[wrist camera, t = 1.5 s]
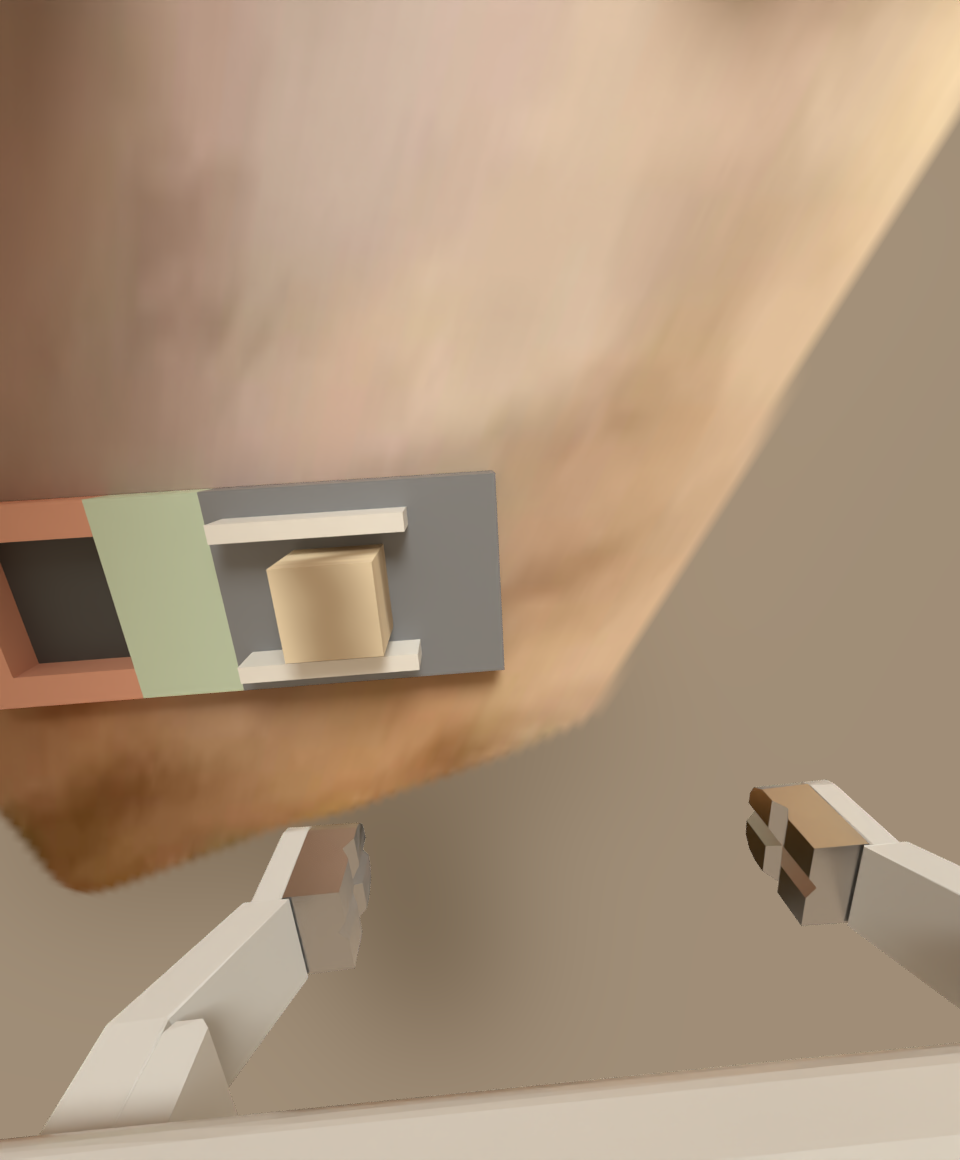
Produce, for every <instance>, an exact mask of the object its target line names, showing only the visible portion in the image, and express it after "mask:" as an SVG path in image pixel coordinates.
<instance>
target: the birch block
mask: <svg viewBox="0 0 960 1160" xmlns="http://www.w3.org/2000/svg"><path fill="white" fill-rule="evenodd" d="M266 571H267V576H268V581H269V586H270V591H271V596H272V601H273V606H274V610H275V615H276V620H277V625H278V630H279V635H280V640H281V645H282V650H283V655H284V659H285V664H288V663H301V662H314V661H327V660H340V659H353V658H366V657H379V656H384V654H385V651H386V648H387V645H388V641H389V638H390V635H391V632H392V629H393V618H392V610H391V602H390V594H389V585H388V577H387V569H386V561H385V553H384V545H383V544H374V545H360V546H345V547H331V548H316V549H301V550H293V551H292V552H290V553H289V554H287V555H286V556H285V557H283V558H282V559H280V560H279V561H278V562H276V563H275V564H273V565H272V566H271V567H269V568H268V569H266Z"/></svg>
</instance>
